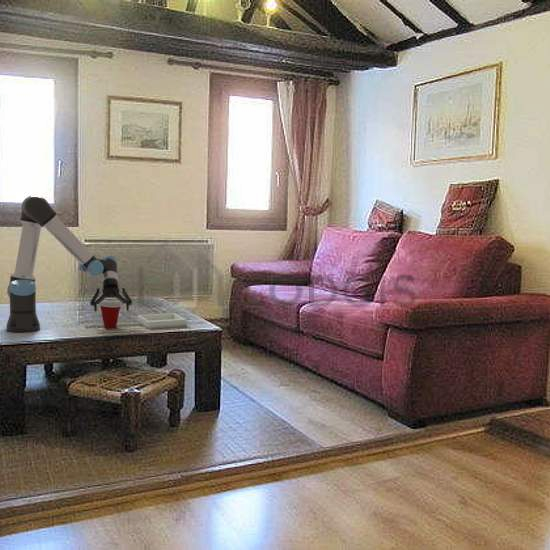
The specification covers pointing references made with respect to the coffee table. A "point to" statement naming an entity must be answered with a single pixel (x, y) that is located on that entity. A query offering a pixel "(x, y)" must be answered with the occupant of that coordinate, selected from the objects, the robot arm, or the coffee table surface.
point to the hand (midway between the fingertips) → (111, 315)
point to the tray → (162, 321)
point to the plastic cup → (110, 314)
